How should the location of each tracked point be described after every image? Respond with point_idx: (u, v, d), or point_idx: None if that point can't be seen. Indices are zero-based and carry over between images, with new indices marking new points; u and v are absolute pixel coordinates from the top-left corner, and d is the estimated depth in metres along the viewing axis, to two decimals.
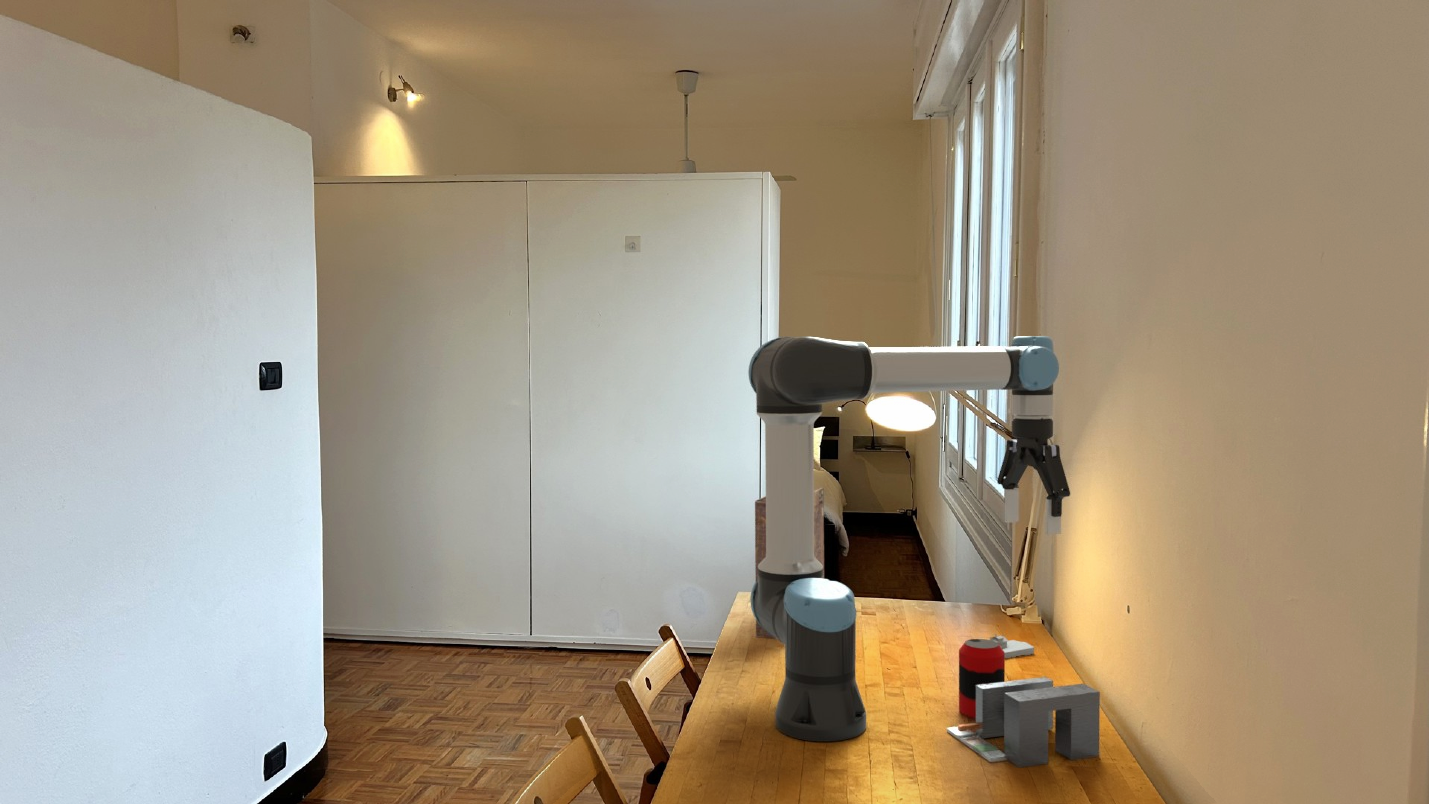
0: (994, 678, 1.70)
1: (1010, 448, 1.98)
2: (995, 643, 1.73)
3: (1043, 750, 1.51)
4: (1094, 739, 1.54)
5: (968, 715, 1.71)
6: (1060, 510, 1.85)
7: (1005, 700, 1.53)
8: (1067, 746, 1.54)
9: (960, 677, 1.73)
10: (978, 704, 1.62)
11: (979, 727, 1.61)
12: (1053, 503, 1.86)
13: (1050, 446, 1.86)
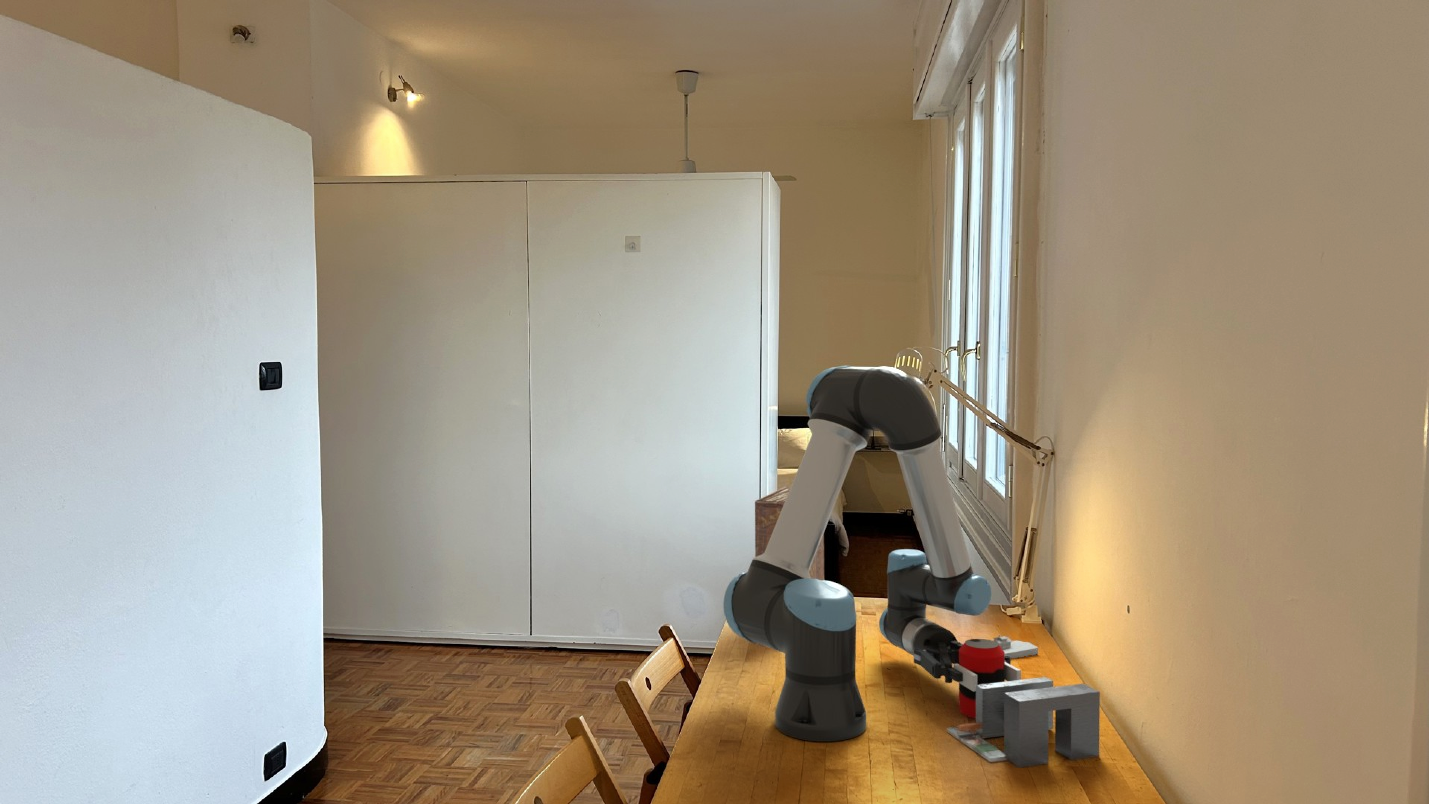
0: (994, 678, 1.70)
1: (924, 650, 1.82)
2: (995, 643, 1.73)
3: (1043, 750, 1.51)
4: (1094, 739, 1.54)
5: (968, 715, 1.71)
6: None
7: (1005, 700, 1.53)
8: (1067, 746, 1.54)
9: None
10: (978, 704, 1.62)
11: (979, 727, 1.61)
12: None
13: None
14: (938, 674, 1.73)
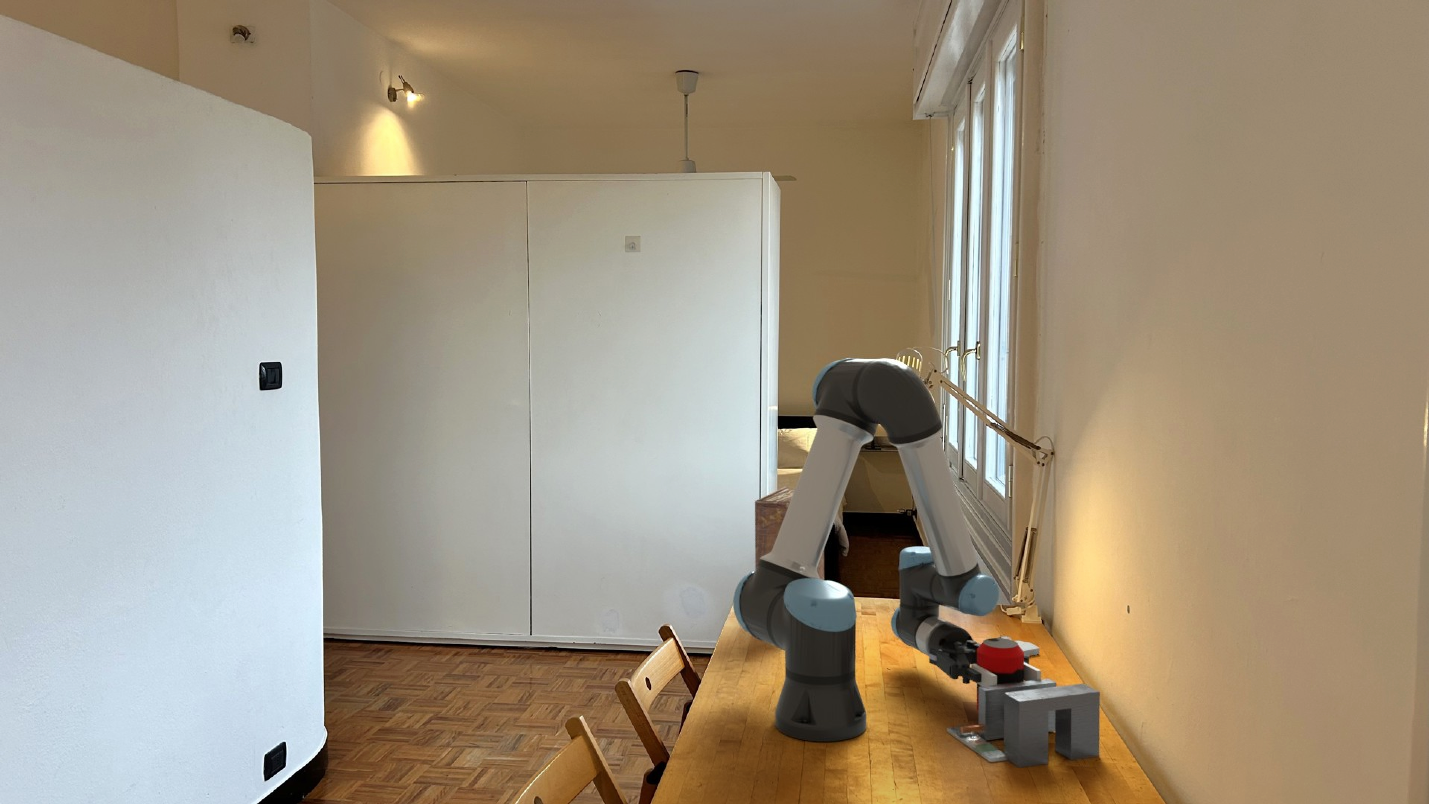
0: (1014, 679, 1.65)
1: (939, 650, 1.77)
2: (1014, 643, 1.68)
3: (1043, 750, 1.51)
4: (1094, 739, 1.54)
5: None
6: None
7: (1005, 700, 1.53)
8: (1067, 746, 1.54)
9: None
10: (981, 706, 1.61)
11: (982, 729, 1.61)
12: None
13: None
14: (956, 675, 1.69)
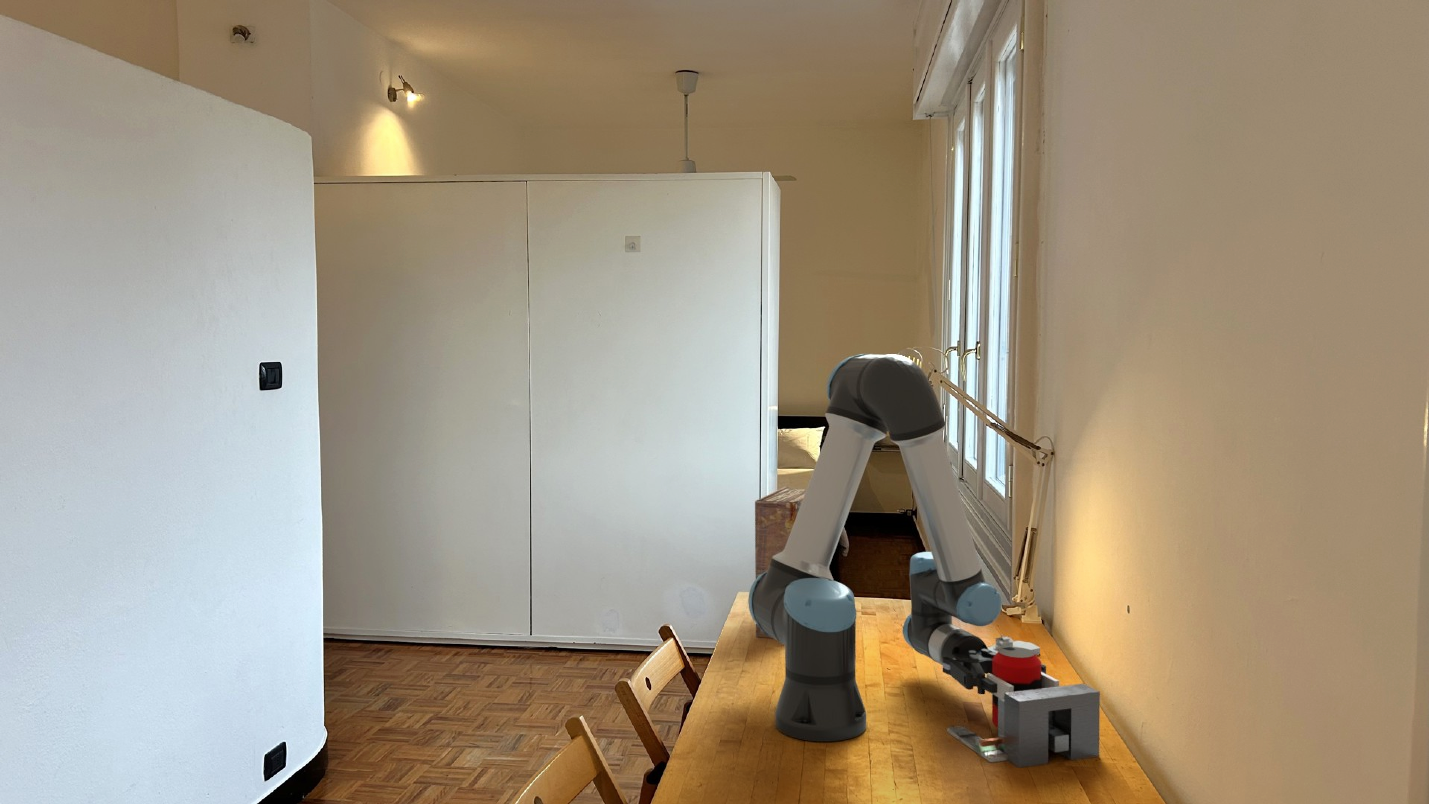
0: (1031, 689, 1.60)
1: (953, 659, 1.72)
2: (1031, 652, 1.63)
3: (1043, 750, 1.51)
4: (1094, 739, 1.54)
5: None
6: None
7: (1005, 700, 1.53)
8: None
9: None
10: (1000, 718, 1.56)
11: (1002, 742, 1.55)
12: None
13: None
14: (970, 685, 1.63)
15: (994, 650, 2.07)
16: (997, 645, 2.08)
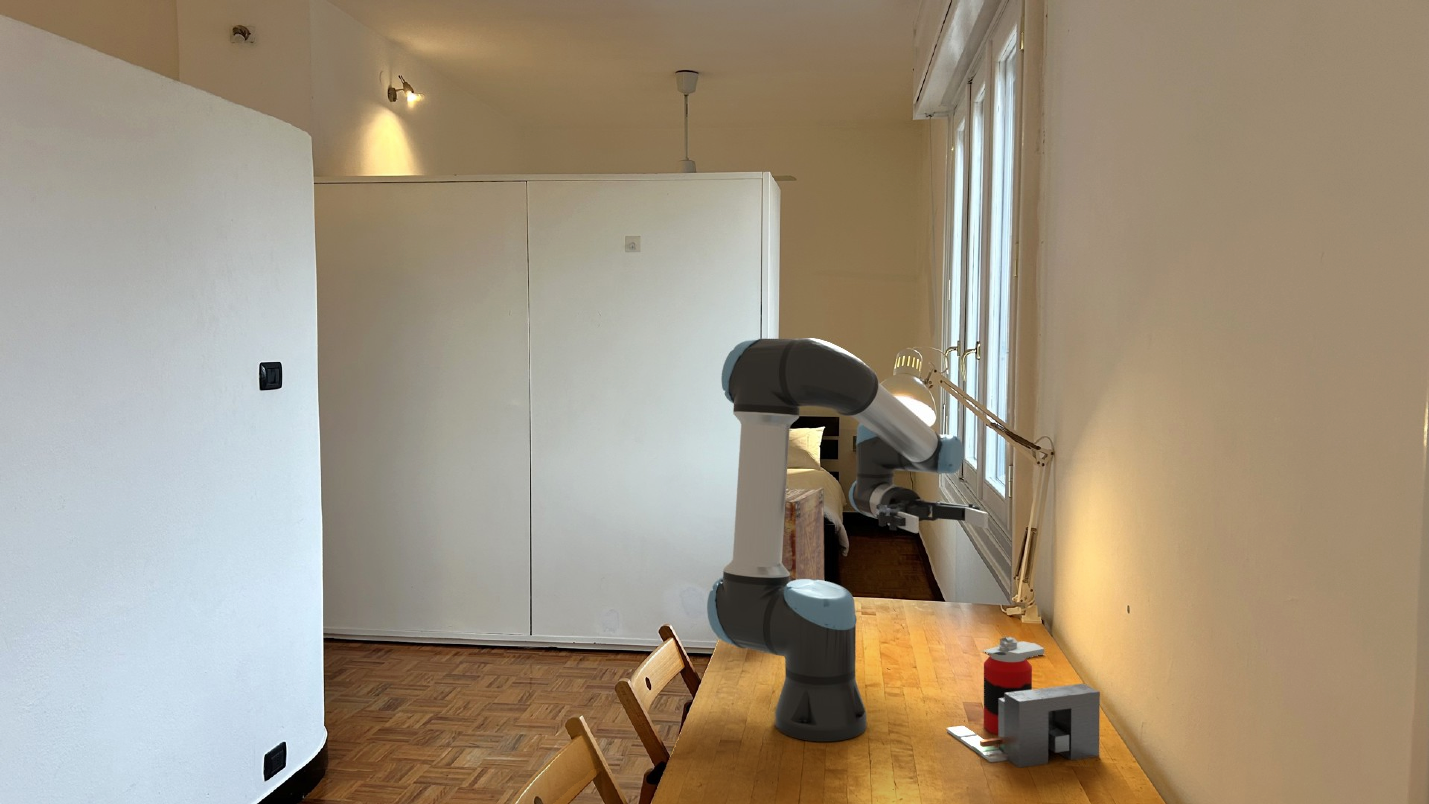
0: None
1: (885, 505, 1.89)
2: (1022, 656, 1.65)
3: (1043, 750, 1.51)
4: (1094, 739, 1.54)
5: (994, 732, 1.63)
6: None
7: (1005, 700, 1.53)
8: None
9: (985, 692, 1.65)
10: (1001, 718, 1.56)
11: (1002, 742, 1.55)
12: None
13: None
14: (882, 522, 1.81)
15: (998, 651, 2.07)
16: (1001, 646, 2.07)
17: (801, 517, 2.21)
